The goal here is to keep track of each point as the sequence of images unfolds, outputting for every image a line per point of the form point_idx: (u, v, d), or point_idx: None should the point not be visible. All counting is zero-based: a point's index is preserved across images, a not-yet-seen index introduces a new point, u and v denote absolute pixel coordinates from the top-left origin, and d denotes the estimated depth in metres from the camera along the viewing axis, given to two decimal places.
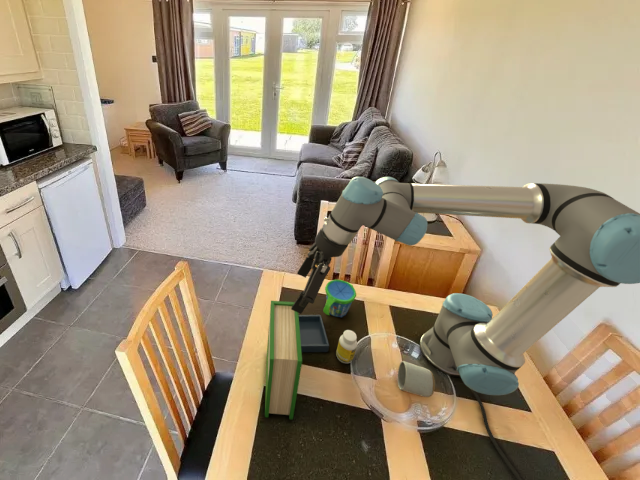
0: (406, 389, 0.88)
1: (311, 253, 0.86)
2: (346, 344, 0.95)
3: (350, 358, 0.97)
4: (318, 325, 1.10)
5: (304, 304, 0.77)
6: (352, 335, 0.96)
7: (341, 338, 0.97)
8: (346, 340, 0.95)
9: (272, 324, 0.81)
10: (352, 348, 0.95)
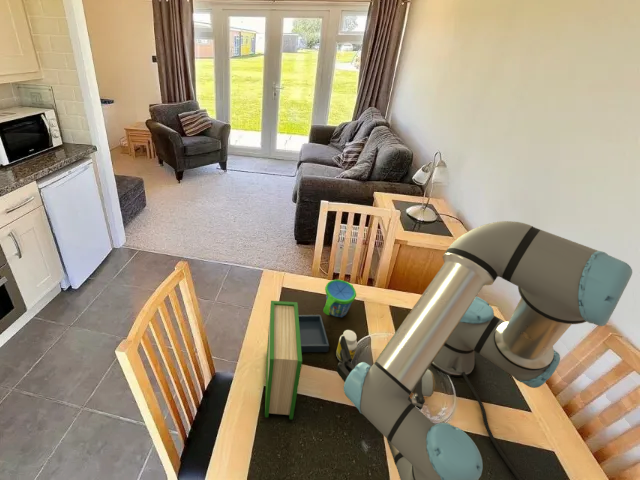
0: None
1: None
2: None
3: None
4: (318, 325, 1.10)
5: None
6: (352, 335, 0.96)
7: None
8: (346, 340, 0.95)
9: (272, 324, 0.81)
10: (352, 348, 0.95)
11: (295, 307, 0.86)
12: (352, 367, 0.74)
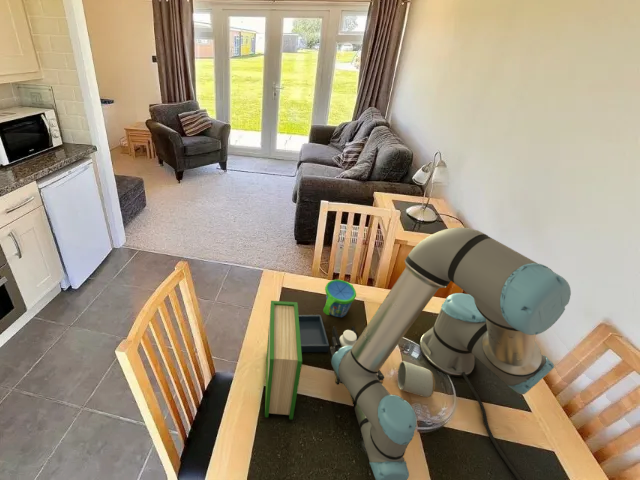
0: (406, 389, 0.88)
1: None
2: (346, 344, 0.95)
3: None
4: (318, 325, 1.10)
5: None
6: (352, 335, 0.96)
7: (341, 338, 0.97)
8: (346, 340, 0.95)
9: (272, 324, 0.81)
10: None
11: (295, 307, 0.86)
12: None
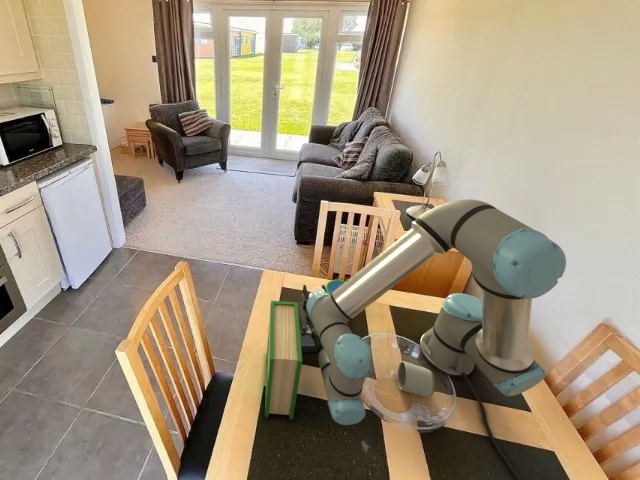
0: (406, 389, 0.88)
1: None
2: None
3: None
4: None
5: None
6: (321, 291, 0.96)
7: (310, 295, 0.97)
8: None
9: (272, 324, 0.81)
10: None
11: (295, 307, 0.86)
12: None
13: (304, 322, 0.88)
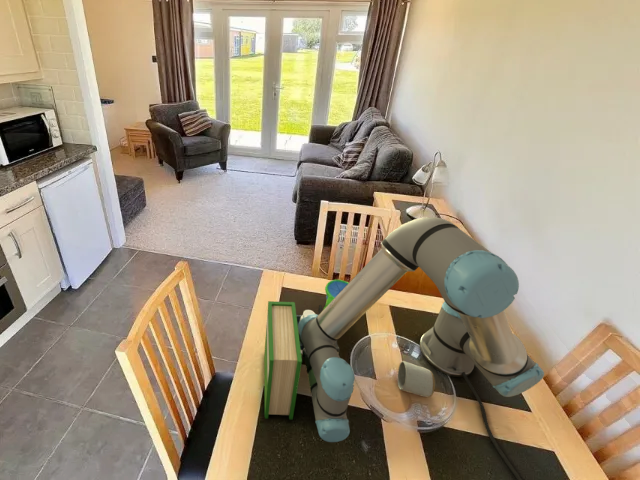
0: (406, 389, 0.88)
1: None
2: None
3: None
4: None
5: None
6: None
7: (301, 317, 1.03)
8: None
9: (270, 325, 0.81)
10: None
11: (293, 307, 0.86)
12: None
13: None
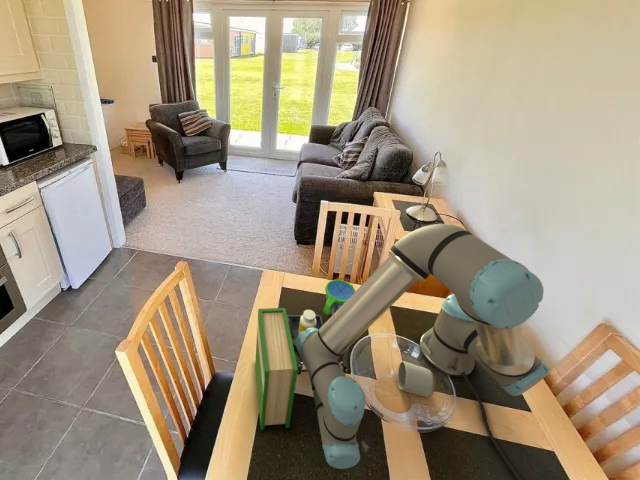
0: (406, 389, 0.88)
1: None
2: (305, 322, 1.01)
3: None
4: (318, 325, 1.10)
5: None
6: (312, 314, 1.01)
7: (301, 317, 1.03)
8: (305, 318, 1.00)
9: (263, 334, 0.78)
10: (311, 326, 1.01)
11: (284, 313, 0.84)
12: (293, 342, 0.91)
13: (297, 359, 0.86)
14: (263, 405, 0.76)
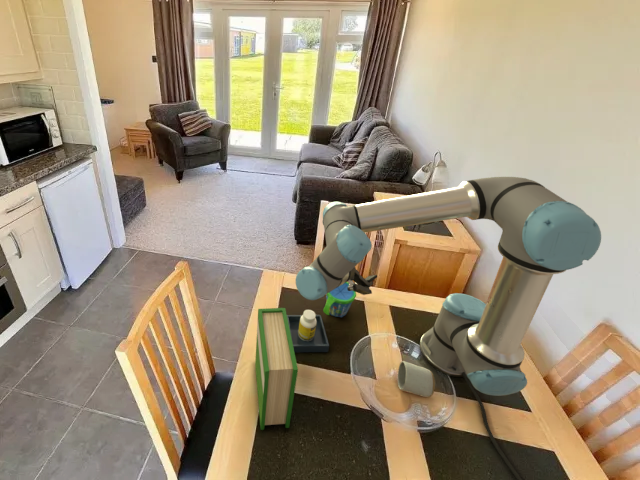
0: (406, 389, 0.88)
1: None
2: (305, 322, 1.01)
3: (310, 336, 1.03)
4: (318, 325, 1.10)
5: None
6: (312, 314, 1.01)
7: (301, 317, 1.03)
8: (305, 318, 1.00)
9: (263, 334, 0.78)
10: (311, 326, 1.01)
11: (283, 313, 0.84)
12: None
13: None
14: (263, 405, 0.76)
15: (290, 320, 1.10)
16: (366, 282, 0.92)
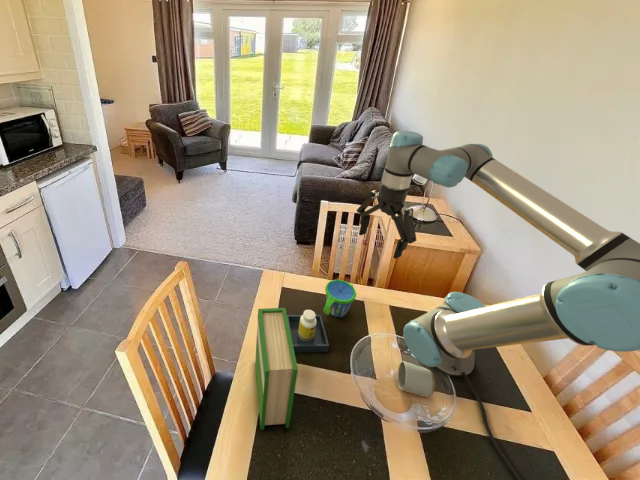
0: (406, 389, 0.88)
1: None
2: (305, 322, 1.01)
3: (310, 336, 1.03)
4: (318, 325, 1.10)
5: None
6: (312, 314, 1.01)
7: (302, 317, 1.03)
8: (305, 318, 1.00)
9: (263, 334, 0.78)
10: (311, 326, 1.01)
11: (283, 313, 0.84)
12: (401, 235, 0.91)
13: (405, 219, 0.88)
14: (263, 405, 0.76)
15: (290, 320, 1.10)
16: (365, 213, 1.01)
